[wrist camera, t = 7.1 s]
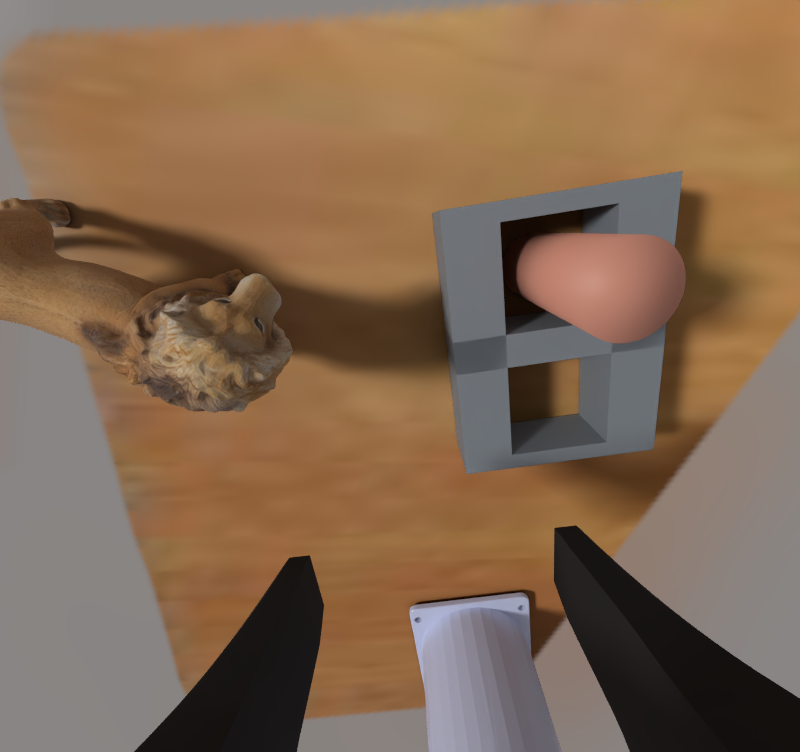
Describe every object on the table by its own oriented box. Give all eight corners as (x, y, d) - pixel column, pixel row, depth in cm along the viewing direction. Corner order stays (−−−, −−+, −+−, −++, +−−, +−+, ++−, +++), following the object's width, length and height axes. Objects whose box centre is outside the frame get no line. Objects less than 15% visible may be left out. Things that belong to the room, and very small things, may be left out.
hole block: (619, 420, 21) (653, 449, 18) (457, 442, 22) (466, 474, 19) (634, 180, 17) (682, 171, 14) (432, 213, 17) (439, 210, 14)
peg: (566, 292, 19) (680, 334, 11) (504, 302, 19) (576, 350, 11) (565, 227, 18) (691, 225, 10) (500, 238, 18) (576, 244, 10)
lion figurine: (331, 264, 18) (276, 296, 10) (313, 367, 20) (254, 468, 12) (-2, 181, 17) (-406, 134, 8) (12, 301, 18) (-306, 362, 10)
